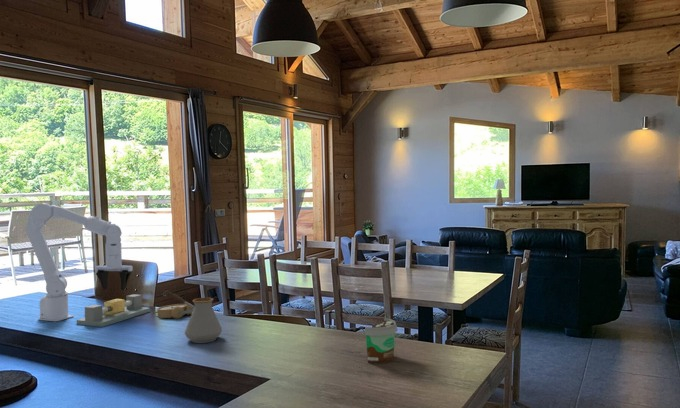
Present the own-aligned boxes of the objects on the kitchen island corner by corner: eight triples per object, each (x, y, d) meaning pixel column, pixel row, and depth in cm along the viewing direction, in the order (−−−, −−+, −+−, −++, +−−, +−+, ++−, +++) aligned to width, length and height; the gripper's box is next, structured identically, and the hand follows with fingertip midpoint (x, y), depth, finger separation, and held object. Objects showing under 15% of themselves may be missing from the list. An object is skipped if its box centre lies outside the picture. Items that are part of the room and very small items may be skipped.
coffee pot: (229, 336, 162) (228, 290, 162) (206, 346, 152) (206, 297, 151) (177, 330, 171) (176, 286, 170) (152, 339, 160) (151, 293, 160)
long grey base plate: (76, 324, 180) (76, 306, 180) (126, 309, 203) (125, 293, 203) (102, 326, 176) (102, 308, 176) (149, 311, 199) (149, 295, 199)
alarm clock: (171, 303, 200) (200, 300, 194) (173, 316, 200) (202, 312, 194) (149, 309, 190) (179, 306, 184) (151, 322, 190) (181, 319, 183)
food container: (385, 368, 131) (385, 330, 131) (365, 364, 134) (364, 327, 134) (405, 355, 142) (404, 320, 141) (385, 351, 145) (385, 317, 145)
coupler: (103, 315, 187) (103, 302, 187) (117, 311, 194) (117, 298, 193) (111, 316, 186) (111, 302, 185) (125, 312, 192) (125, 299, 192)
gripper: (90, 256, 194) (90, 291, 194) (125, 256, 192) (126, 291, 193) (100, 254, 201) (101, 287, 201) (135, 254, 199) (135, 287, 200)
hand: (114, 289), depth 197 cm, fingers open, 7 cm apart
